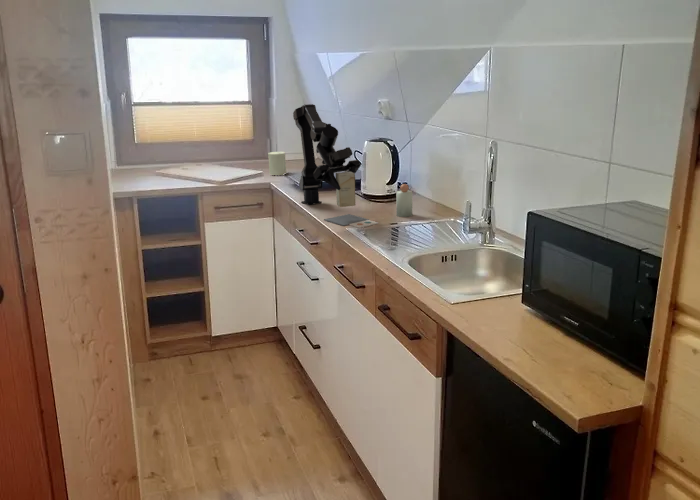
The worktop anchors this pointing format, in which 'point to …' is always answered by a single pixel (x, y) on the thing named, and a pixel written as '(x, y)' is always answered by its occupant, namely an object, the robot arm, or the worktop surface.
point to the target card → (363, 223)
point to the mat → (345, 219)
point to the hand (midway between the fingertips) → (347, 188)
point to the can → (277, 163)
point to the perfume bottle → (404, 201)
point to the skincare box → (346, 189)
